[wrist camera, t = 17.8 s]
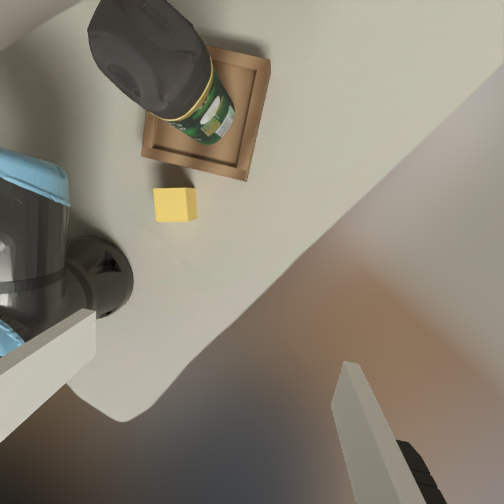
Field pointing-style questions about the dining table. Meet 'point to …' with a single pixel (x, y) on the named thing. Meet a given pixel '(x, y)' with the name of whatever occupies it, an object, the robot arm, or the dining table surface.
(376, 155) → the dining table surface
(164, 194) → the mustard cube
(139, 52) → the coffee jar
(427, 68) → the dining table surface
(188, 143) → the walnut tray
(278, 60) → the dining table surface
